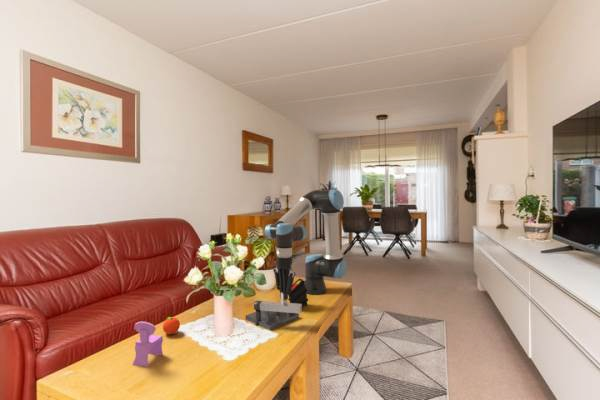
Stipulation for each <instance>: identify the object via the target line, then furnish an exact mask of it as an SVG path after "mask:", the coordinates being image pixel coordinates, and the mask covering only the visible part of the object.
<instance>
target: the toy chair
mask: <svg viewBox="0 0 600 400" xmlns="http://www.w3.org/2000/svg"><path fill="white" fill-rule="evenodd" d="M156 329H157V328H156V326H155V324H153V323H150V322H147V321H138V322H136V323H135V324H134V330H135V331H136V332H137V333H139V339H138V340H136V341H135V344H134V351H135V358H134V360H133V362H132V366H140V367H147V368H148V367H149V360H148V359H149V357H148V356H149V354H150V355H155V356H156V355H157V356H164V355H163V348H162V345H163V342H164V341H163V340H164V338H163V335H158V334H154V333H155V331H156Z"/></svg>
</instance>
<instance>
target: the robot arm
mask: <svg viewBox="0 0 600 400" xmlns="http://www.w3.org/2000/svg"><path fill="white" fill-rule="evenodd" d="M344 202H345V201H344V195H343V194H342V192H341V191H340V190H339V189H314V190H311V191H309V192H307V193H306V194H304V195H303V196H302V197H301V198H299V199H298V201H297V203H296V204H295V205H293V207H292V208H291V209H289V210H288V211H287V212H286V213H285V214H284V215H283V216H281V218H278V220H277V221H276V222H275V223H274V224H273V223H271V224H270V223H269V224H267V225H266V226H265V228H264V235H265V237H266V238H267V239H271V240H276V246H275V247H276V251H275V252H276V258H275V259H276V262H275V263H276V268H274V269H273V270H272V271H273V273H274V278H275V279H274V280H275V285H276V290H277V291H278V292H279V294H280V295H279V297H280V302H283V303H288V299H289V296H288V292H291V290H292V285H293V284H294V280H295V279H294V278H295V276H296V272H293V269H292V265H293V243H294V242H301V241H303V240H305V239H306V237H307V236H308V231H307V228H306V227H305V226H303V225H298V224H297V225H295V224H296V223H297V222H298V221H299V220H300V219H301V218H302V217H304V215H305V214H306V213H308V212H309V213H310V212H311V211H312V210H320V214H322V215H323V226H324V239H325V241H324V242H325V254H323V253H316V254H315V253H314V254H309V255H307V256H306V257H305V262H304V264H305V265H304V267H305V278H304V281H305V283H304V284H305V288H306V289H307V291H306V293H307V295H323V294H325V293H326V292H327V286H326V282H325V277H326V278H332V279H339V280H340V279H343V278H344V277H345V275H346V272H347V269H348V261H347V260H346V259H344V255H343V254H342V252H341V245H340V244H341V243H340V227H339V226H340V225H339V214H340V213H341V210H343V208H344V204H345V203H344Z"/></svg>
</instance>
